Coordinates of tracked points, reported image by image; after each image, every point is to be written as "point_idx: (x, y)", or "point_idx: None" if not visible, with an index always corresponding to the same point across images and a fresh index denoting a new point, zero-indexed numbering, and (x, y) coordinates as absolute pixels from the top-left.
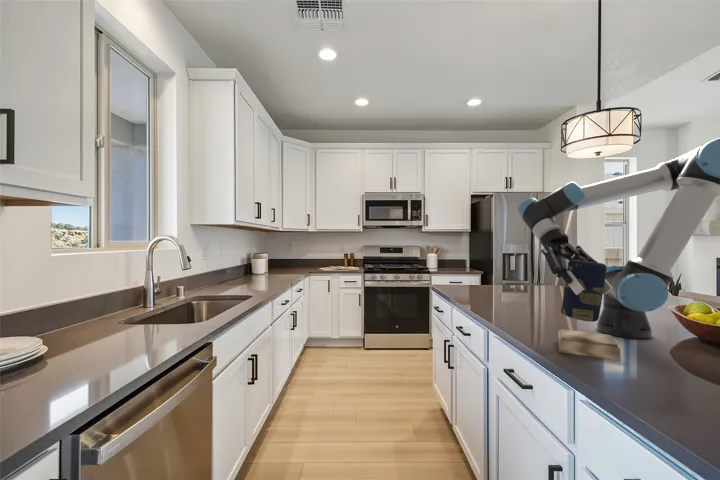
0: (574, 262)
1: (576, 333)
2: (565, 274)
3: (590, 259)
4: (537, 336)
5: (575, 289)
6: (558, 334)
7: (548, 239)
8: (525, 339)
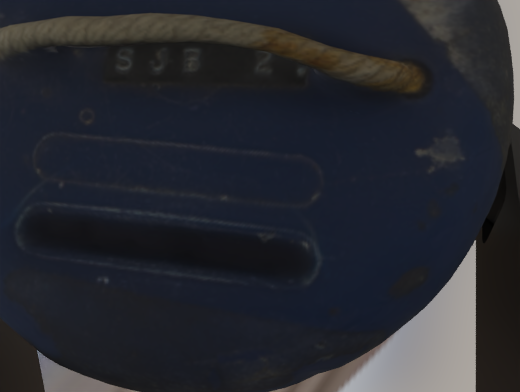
0: (508, 43)
1: None
2: (515, 129)
3: (109, 30)
4: (301, 383)
5: None
6: None
7: None
8: (375, 350)
